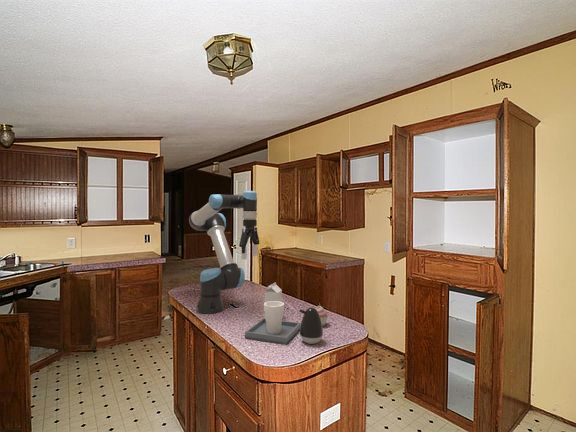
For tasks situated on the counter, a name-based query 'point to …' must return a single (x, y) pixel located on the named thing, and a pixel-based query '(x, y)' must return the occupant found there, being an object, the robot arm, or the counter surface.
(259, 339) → the tray
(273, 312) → the foam cup
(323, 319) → the cupcake
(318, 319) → the pump dispenser
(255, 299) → the counter surface
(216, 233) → the robot arm
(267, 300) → the milk carton
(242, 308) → the counter surface
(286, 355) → the counter surface
